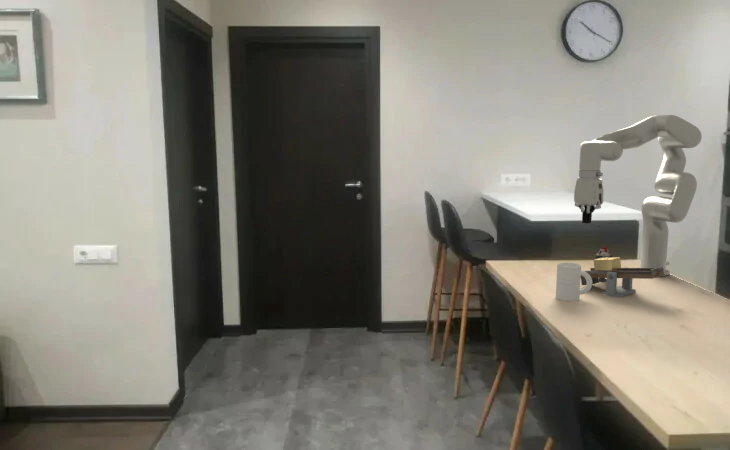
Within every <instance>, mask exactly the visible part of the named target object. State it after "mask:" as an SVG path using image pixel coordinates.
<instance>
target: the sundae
mask: <svg viewBox="0 0 730 450" xmlns="http://www.w3.org/2000/svg"><path fill="white" fill-rule="evenodd" d="M608 245H609V243H607V244H606V246H604V247H601V248H599V249H598V252H597V253H594V257H596V258H595V259H599V258H613V257H614V255H612V254H610V251H609V249H608ZM598 280H599V282H602V283H606V281H607V278H598Z"/></svg>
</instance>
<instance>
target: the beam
mask: <svg viewBox="0 0 730 450" xmlns="http://www.w3.org/2000/svg"><path fill="white" fill-rule="evenodd" d="M589 269H590V270H584V271H585V272H587V273H588V274H589V275H590V276H591V278H592V285H595V284H598V283H599V282H600V281H599V280H598V278H605V279H607V272H609V271H595V269H594V267H590V268H589ZM621 270H622V271H610V272H615V273H617V279H622V278H633V279H639V280H641V279H644V280H647V279H649V280H650V279H651V280H653V279H656V278H660V277H664V276H663V275H664V270H663V268H662V267H658V268H638V267H628V268H624V267H621ZM580 284H581V286H586V284H587V281H586V279H585V278H584V277H583V276H581V281H580Z"/></svg>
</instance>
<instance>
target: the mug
mask: <svg viewBox="0 0 730 450" xmlns="http://www.w3.org/2000/svg"><path fill="white" fill-rule="evenodd" d="M585 271H586V270H582V265H581V264H579V263H575V262H559V263H557V265H556V286H555V299H557V300H560V301H564V302H577V301H579V300H580V297H581V295H585V294H587V293H588V292H589V291H590V290H591V288H592V287H593V284H592V278H591V276H590V275H589V274H588V273H587V272H585ZM581 276H583V277H584V278H585V279H586V281H587V284H586V285H584V287H583V288H581Z"/></svg>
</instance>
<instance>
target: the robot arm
mask: <svg viewBox="0 0 730 450" xmlns="http://www.w3.org/2000/svg"><path fill="white" fill-rule="evenodd" d="M655 139H657V140H658V143H659V145H660V147H661V149H662V152H663V153H662V154H663V157H662V158H663V159H662V162H661V165H660V167H659V170H658V173H657V176H656V178H655V181H654V185H653V186H654V190H655V191H656V192H657V193H659V194H662V195H668V196H659V195H651V196H648V197H646V198H645V199H644V200H643V201H642V203H641V215H642V233H641V234H642V236H641V252H640V262H639V263H640V265H639V266H638V267H637V268H658V267H662V268H663V270H664V275H663V276H662V277H666V276H669V275H670V273H671V272H670V270H669V269H667V267H668V266H669V265H670V262H669V261H668V260H667V256H668V243H669V242H668V241H669V227H668V224H667V223H672V224H673V223H680V222H682V221H683V220H685V218H686V217H687V214H688V213H689V209H690V207H691V204H692V202H693V200H694V197H695V195H696V191H697V186H698V182H697V179H696V177H695V175H693V174H692V173H690V172H685V167H686V165H687V156H686V155H685V152H684V150H683V149H694V148H695V147H697V146H698V145H700V143H701V140H702V131H701V130H700V129H699V127H697V126H696V125H695V124H693V123H691V122H689V121H687V120H686V119H684V118H682V117H680V116H677V115H673V114H656V115H651V116H649V117H646V118H644V119H642V120H641V121H638V122H636V123H634V124H633V125H631V126H628V127H624V128H622V129H621V128H620V129H617V130H615V131H612V132H608V133H605V134H602V135H601V136H599V137H596V138H595V139H593V140H591V141H583V142H582V143H580V151H579V169H578V177H577V179H576V182H575V185H574V186H575V187H574V194H573V202H574V207H577V208H579V210H580V212H581V213H582V214H581V216H582V217H581V220H582V221H581V222H582V224H585V225H587V224H591V223H592V218H593V217H592V216H593V215H592V214H593V213H594V212H595V210H599V209H601V208H602V205H603V203H604V182H603V179H602V178H601V177H603V176H604V173H603V172H601V164H602V163H601V162H602V161H604V162H616V161H618V160H619V159H621V157H622V156H623V154H624V150H629V149H635V148H639V147H641V146H643V145H645V144H647V143H650V142H651V141H652V140H655ZM669 196H672V197H669Z"/></svg>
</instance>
